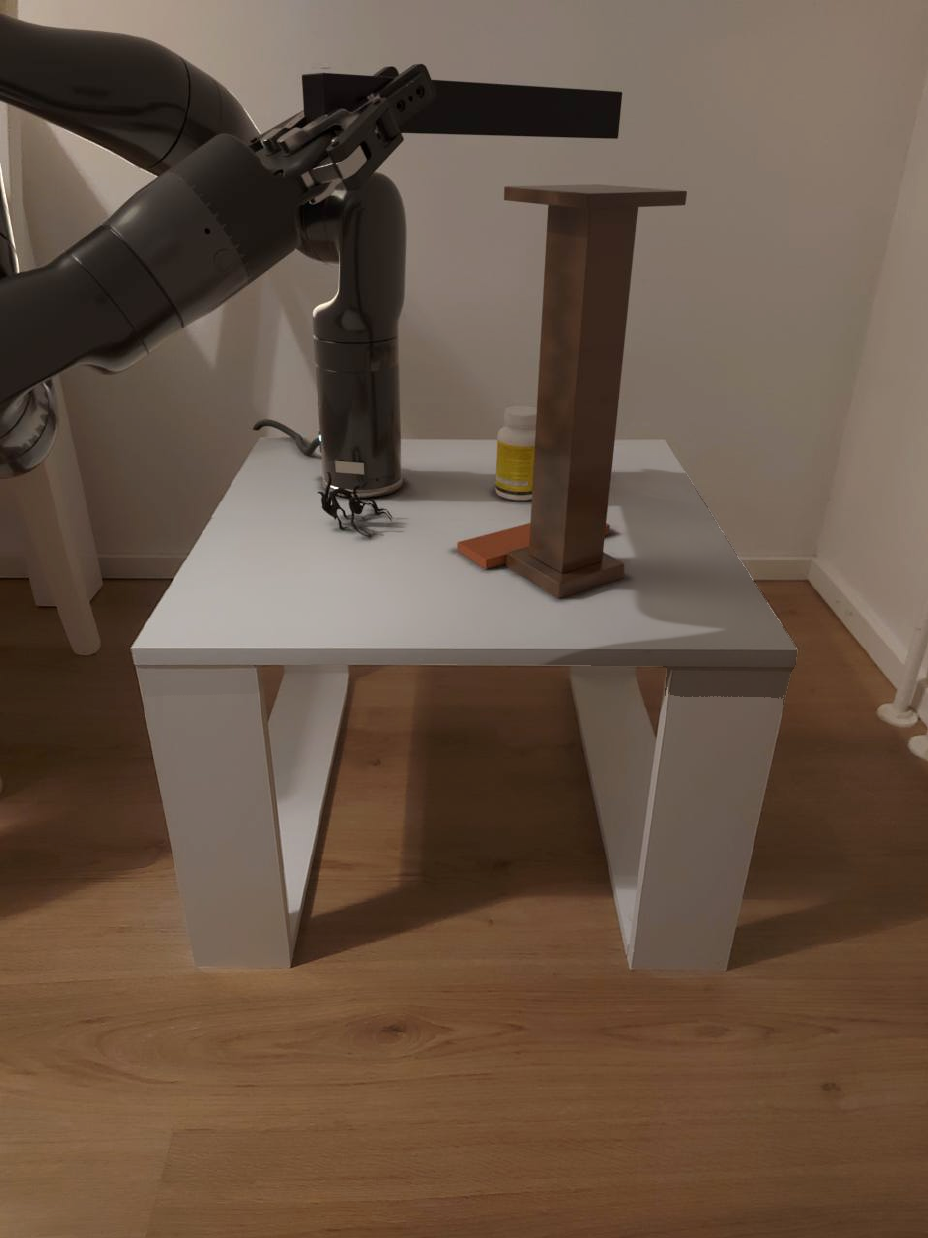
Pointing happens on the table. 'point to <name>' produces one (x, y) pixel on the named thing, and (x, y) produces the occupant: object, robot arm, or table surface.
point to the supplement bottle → (516, 454)
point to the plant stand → (579, 377)
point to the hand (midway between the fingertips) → (412, 80)
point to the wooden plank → (497, 545)
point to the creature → (353, 504)
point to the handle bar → (479, 107)
